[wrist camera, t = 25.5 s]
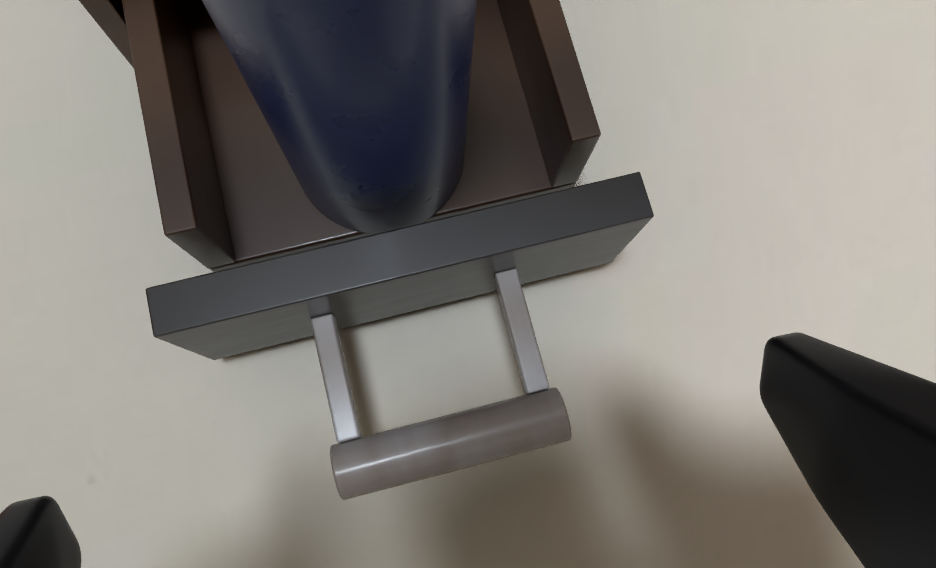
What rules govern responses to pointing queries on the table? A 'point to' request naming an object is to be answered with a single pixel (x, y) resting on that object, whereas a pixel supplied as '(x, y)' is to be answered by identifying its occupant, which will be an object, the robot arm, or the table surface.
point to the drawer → (388, 253)
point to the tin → (360, 98)
